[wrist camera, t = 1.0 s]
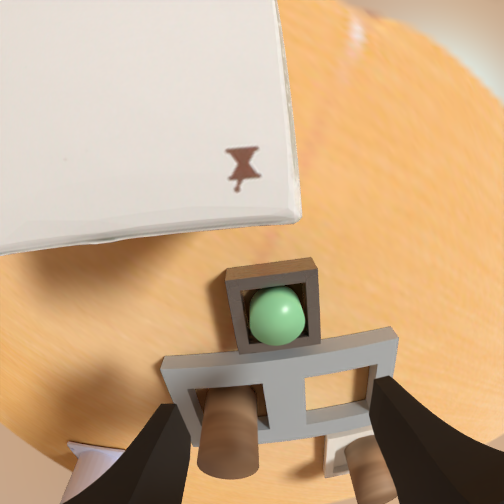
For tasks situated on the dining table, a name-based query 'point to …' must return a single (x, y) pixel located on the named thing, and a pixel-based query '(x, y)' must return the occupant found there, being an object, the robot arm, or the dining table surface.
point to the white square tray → (340, 450)
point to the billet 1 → (229, 433)
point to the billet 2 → (369, 472)
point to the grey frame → (284, 383)
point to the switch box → (271, 277)
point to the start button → (276, 315)
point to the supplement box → (142, 120)
